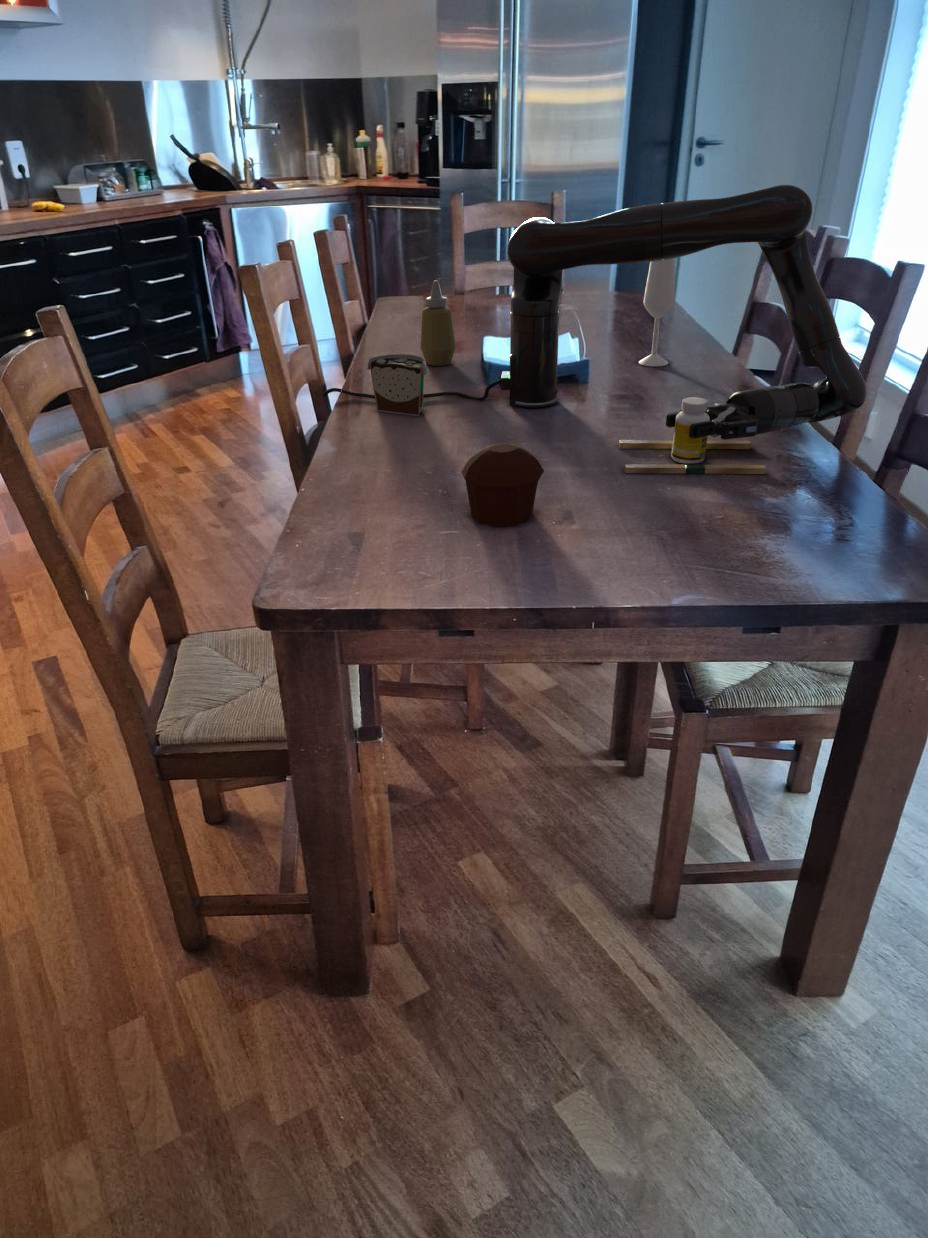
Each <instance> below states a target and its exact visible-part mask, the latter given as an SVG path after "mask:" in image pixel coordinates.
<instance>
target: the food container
mask: <svg viewBox="0 0 928 1238" xmlns="http://www.w3.org/2000/svg"><path fill="white" fill-rule="evenodd" d="M366 370H367V371H369V370H370V376H371V382H372V389H373V395H375V399H374V400H375V406H376V412H382V413H388V414H396V415H404V416H411V417H412V416H413V417H421V416H422V415H423V411H424V410H423V409H424V398H423V394H424V393H425V392H424V391H425V389H424V388H425V376H426V375H427V374H428V373H429V371H428V366H427V363H426V361H425V359H424V357H422V356H419V355H415V354H406V353H405V354H404V353H395V354H393V353H392V354H384V355H378V356H373V357H370V358H369V359H368V362H367V368H366Z"/></svg>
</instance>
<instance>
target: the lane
mask: <svg viewBox="0 0 928 1238" xmlns="http://www.w3.org/2000/svg"><path fill="white" fill-rule="evenodd" d="M672 446H673V439H672V440H668V439H667V440H661V439H660V440H658V439H657V440H656V439H655V440H653V439H651V440H650V439H649V440H648V439H647V440H644V439H643V440H641V439H640V440H636V439H630V440H629V439H628V440H627V439H619V441H618V447H619V449H633V450H634V449H635V450H636V449H642V450H649V449H652V450H653V449H657V450H658V449H660V450H661V449H662V450H663V449H664V450H666V449H667V450H668V449H669V450H672ZM751 449H752V442H751V441H750V440H707V444H706V450H751ZM767 470H768V468H767V466H766V465H765V464H675V463H674V464H673V463H672V464H668V463H667V464H666V463H665V464H664V463H663V464H662V463H661V464H660V463H659V464H657V463H655V464H653V463H651V464H650V463H646V464H645V463H641V464H640V463H624V473H625V474H678V475H679V474H681V475H683V474H685V475H686V474H690V475H691V474H694V475H695V474H699V475H700V474H702V475H704V474H705V475H708V474H709V475H767Z"/></svg>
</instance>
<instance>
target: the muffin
mask: <svg viewBox="0 0 928 1238" xmlns="http://www.w3.org/2000/svg"><path fill="white" fill-rule="evenodd" d="M544 472H545V470H544V468H543V466H542V465H541V462H540V461H539V459H538V458H537V457H536V456H535V455H534V453H533V452H532V451H530V450H529V449H526V448H525V447H522V446H520V445H517V444H515V443H513V444H512V443H497V444H490V445H488V446H485V447H483V448H481V449H479V450H477V451H476V452H475V453H473V455H471V457H470V458H469V459H468V461H466V463H465V465H464V466H463V468H462V470H461V471H460V473H461V475H462V477H463V479H464V480H465V486H466V492H467V498H468V503H469V509H470V515H471V517H472V518H473V519H475V520H476V521H477V522H478V524H481V525H487V526H491V527H495V528H499V527H516V526H518V525H520V524H523V523H526V522H528V521H531V516H532V515H533V512H534V506H535V501H536V495H537V490H538V484H539V480H540V479H541V478H542V476H543V474H544Z"/></svg>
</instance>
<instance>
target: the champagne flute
mask: <svg viewBox="0 0 928 1238" xmlns="http://www.w3.org/2000/svg"><path fill="white" fill-rule="evenodd" d="M644 290H645V291H644V294H643V295H644V296H643V306H644V308H645V310H646V311H647V313H648V314H649V315H650V316H651V317H653V318H654V322H653V323H654V324H653V332H652V333H653V334H652V344H651V345H652V346H651V353H650V354H649V355H647V356H645V357H644V358H642V359H640V360H638V364H640V365H642V366H646V367H664V366H667V365H669V362H668V360H666V359H664V357H662V356H660V355H659V354H658V346H659V335H660V324H661V319H662V318H664V317H665V316H666V315H667V314H668V313H669V312H670V311H671V310H672V309H673V307H674V305H675V303H676V302H675V301H676V299H675V298H676V258H674V259H669V260H662V261H653V262H649V267H648V273H647V279H646V285H645V289H644Z"/></svg>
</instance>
